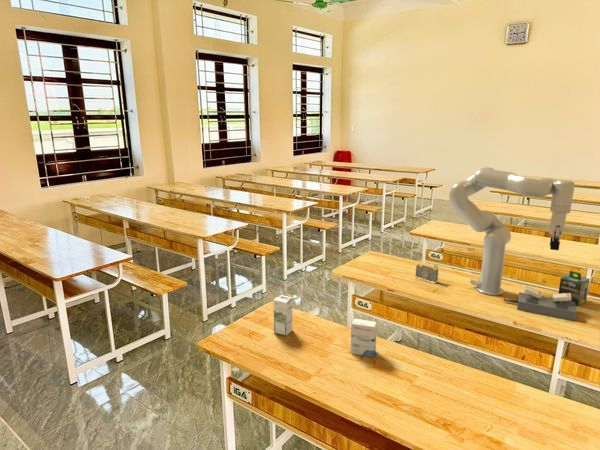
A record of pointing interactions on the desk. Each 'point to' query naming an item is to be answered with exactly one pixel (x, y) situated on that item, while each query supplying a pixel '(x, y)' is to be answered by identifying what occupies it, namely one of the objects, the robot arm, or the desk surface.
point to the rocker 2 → (562, 297)
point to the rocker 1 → (533, 292)
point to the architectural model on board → (427, 272)
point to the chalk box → (575, 287)
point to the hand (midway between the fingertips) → (554, 247)
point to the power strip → (546, 306)
